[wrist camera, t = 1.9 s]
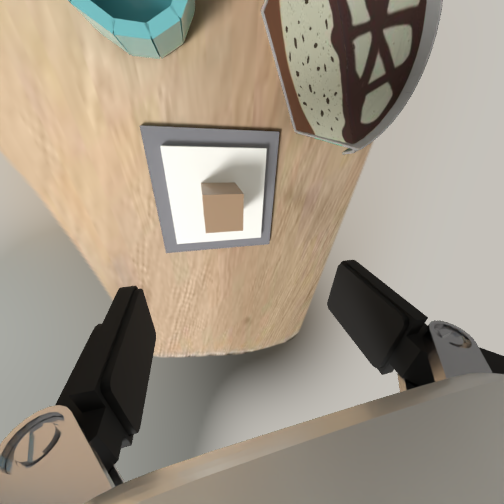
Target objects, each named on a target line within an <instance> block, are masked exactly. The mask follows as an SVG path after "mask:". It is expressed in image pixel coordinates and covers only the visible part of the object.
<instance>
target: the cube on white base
mask: <svg viewBox="0 0 504 504" xmlns="http://www.w3.org/2000/svg"><path fill="white" fill-rule="evenodd" d="M160 148H161V154H162V160H163V165H164V171H165V177H166V183H167V189H168V194H169V200H170V206H171V212H172V218H173V223H174V229H175V235H176V241H177V244H185V243H198V242H211V241H223V240H236V239H248V238H261V227H262V212H263V197H264V182H265V167H266V152H267V148H248V147H207V146H166V145H161V146H160Z"/></svg>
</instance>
